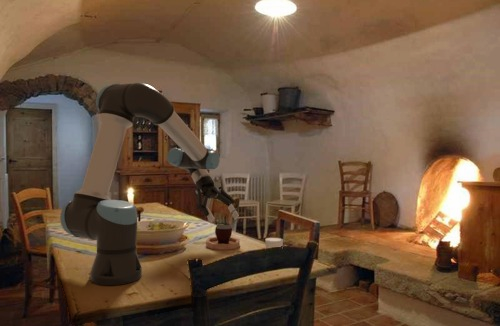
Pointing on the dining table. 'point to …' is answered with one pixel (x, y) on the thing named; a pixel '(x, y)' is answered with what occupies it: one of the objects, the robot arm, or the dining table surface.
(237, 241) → the ring saucer
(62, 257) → the dining table surface
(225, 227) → the mate gourd
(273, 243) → the white cup
